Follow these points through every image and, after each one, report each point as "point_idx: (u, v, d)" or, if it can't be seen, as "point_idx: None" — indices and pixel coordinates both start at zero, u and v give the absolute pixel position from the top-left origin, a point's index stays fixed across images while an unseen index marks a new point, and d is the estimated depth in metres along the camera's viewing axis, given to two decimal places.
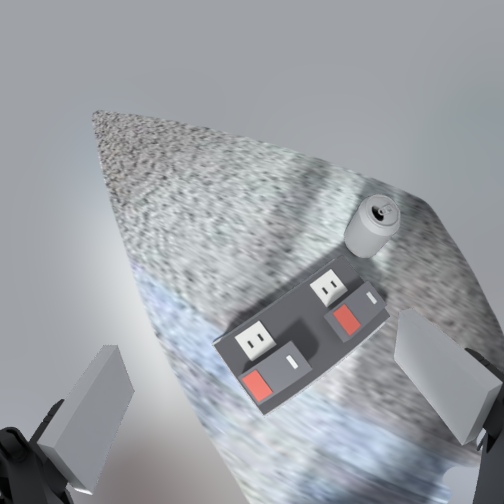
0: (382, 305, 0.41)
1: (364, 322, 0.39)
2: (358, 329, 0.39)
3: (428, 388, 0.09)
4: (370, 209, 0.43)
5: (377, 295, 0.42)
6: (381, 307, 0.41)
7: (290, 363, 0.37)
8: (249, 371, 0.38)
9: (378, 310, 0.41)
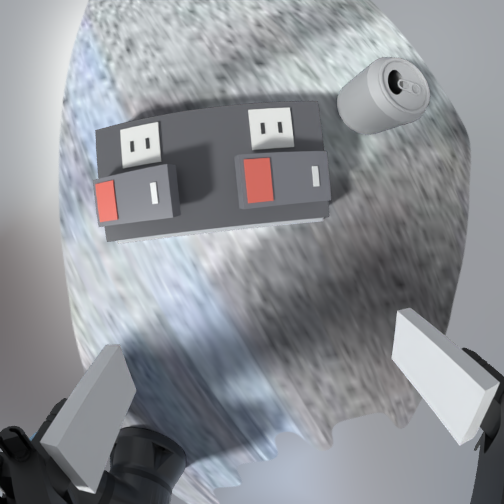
0: (324, 195, 0.28)
1: (280, 200, 0.27)
2: (266, 203, 0.27)
3: (426, 388, 0.09)
4: (389, 71, 0.22)
5: (326, 179, 0.28)
6: (320, 197, 0.28)
7: (151, 193, 0.26)
8: (106, 179, 0.26)
9: (314, 199, 0.28)
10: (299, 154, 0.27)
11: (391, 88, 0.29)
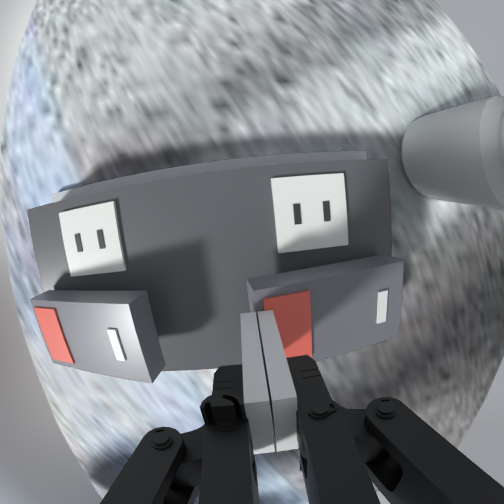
0: (390, 332, 0.16)
1: (323, 353, 0.16)
2: None
3: (267, 388, 0.11)
4: None
5: (396, 307, 0.16)
6: (384, 336, 0.16)
7: (112, 345, 0.15)
8: (46, 304, 0.15)
9: (374, 340, 0.16)
10: (361, 275, 0.15)
11: None
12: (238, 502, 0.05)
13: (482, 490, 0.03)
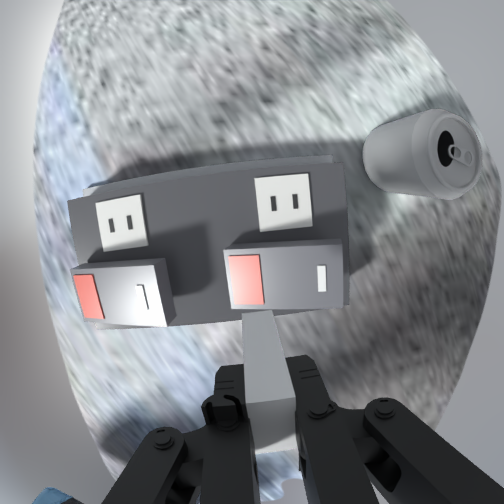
0: (333, 302, 0.22)
1: (273, 304, 0.23)
2: (256, 306, 0.23)
3: None
4: (439, 133, 0.17)
5: (338, 282, 0.21)
6: (327, 304, 0.22)
7: (138, 298, 0.21)
8: (84, 271, 0.22)
9: (318, 305, 0.22)
10: (300, 250, 0.21)
11: None
12: (239, 502, 0.05)
13: (481, 490, 0.03)
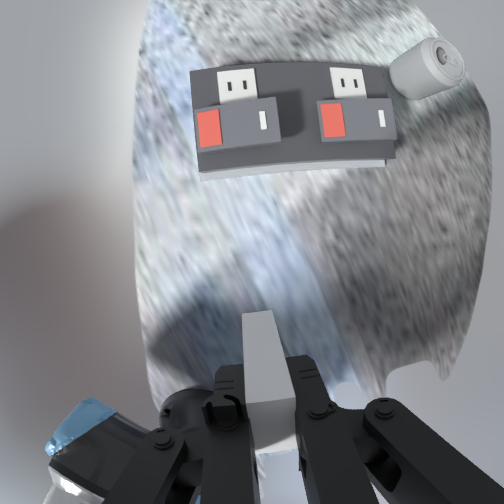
0: (391, 135, 0.29)
1: (352, 136, 0.30)
2: (340, 138, 0.30)
3: None
4: (436, 47, 0.24)
5: (391, 121, 0.28)
6: (387, 136, 0.29)
7: (260, 120, 0.28)
8: (210, 108, 0.29)
9: (381, 137, 0.29)
10: (366, 100, 0.28)
11: None
12: (239, 502, 0.05)
13: (481, 490, 0.03)
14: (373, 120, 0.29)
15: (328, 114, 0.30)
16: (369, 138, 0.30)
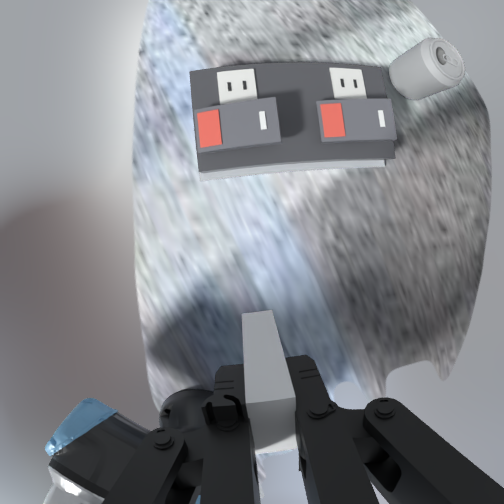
0: (390, 135, 0.29)
1: (351, 136, 0.30)
2: (339, 138, 0.30)
3: None
4: (436, 47, 0.24)
5: (391, 121, 0.28)
6: (387, 136, 0.29)
7: (260, 121, 0.28)
8: (210, 108, 0.29)
9: (381, 137, 0.29)
10: (366, 100, 0.28)
11: None
12: (239, 502, 0.05)
13: (481, 490, 0.03)
14: (373, 120, 0.29)
15: (328, 114, 0.30)
16: (369, 138, 0.30)
